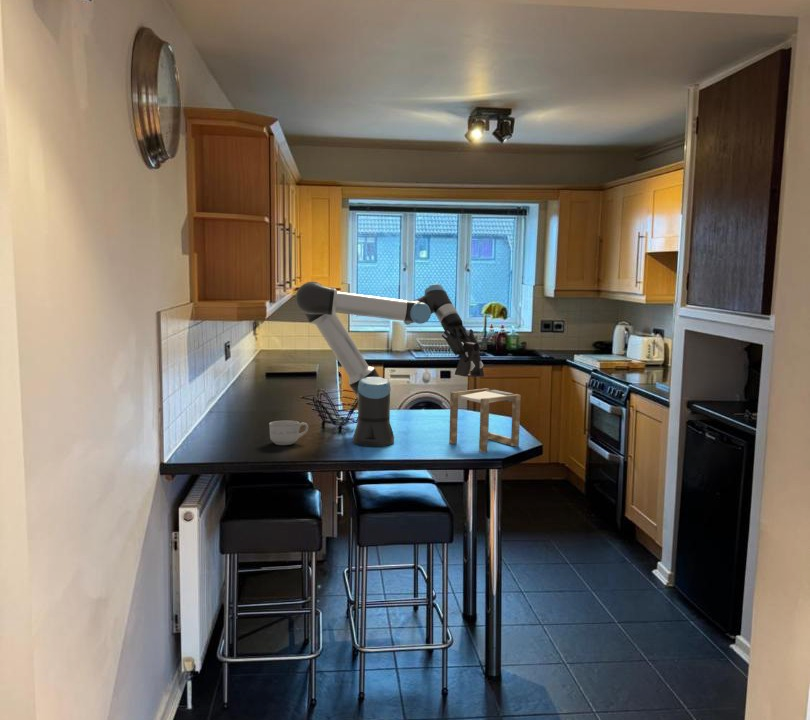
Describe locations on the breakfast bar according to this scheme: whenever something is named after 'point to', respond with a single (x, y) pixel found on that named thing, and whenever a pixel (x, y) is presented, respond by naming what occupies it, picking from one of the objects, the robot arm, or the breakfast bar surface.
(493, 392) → the trapdoor
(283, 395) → the breakfast bar surface
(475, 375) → the phone stand
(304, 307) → the robot arm
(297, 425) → the teacup
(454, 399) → the trapdoor frame
